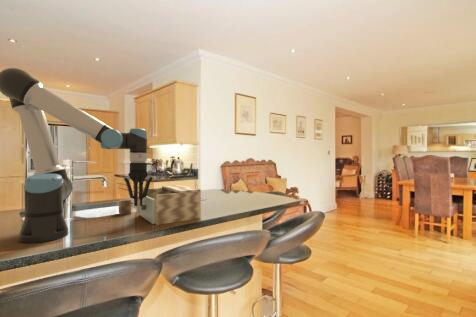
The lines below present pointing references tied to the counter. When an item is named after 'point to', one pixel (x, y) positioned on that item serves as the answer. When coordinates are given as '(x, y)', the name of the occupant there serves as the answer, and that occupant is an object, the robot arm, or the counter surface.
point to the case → (176, 203)
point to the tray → (148, 209)
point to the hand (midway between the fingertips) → (138, 212)
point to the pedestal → (125, 206)
